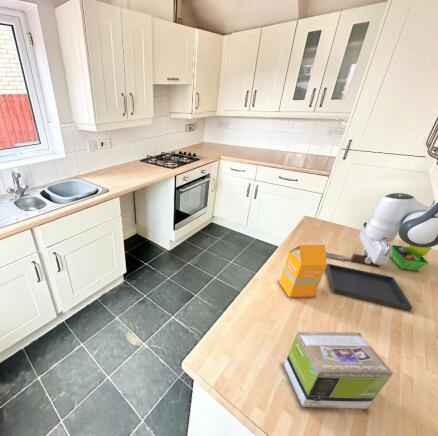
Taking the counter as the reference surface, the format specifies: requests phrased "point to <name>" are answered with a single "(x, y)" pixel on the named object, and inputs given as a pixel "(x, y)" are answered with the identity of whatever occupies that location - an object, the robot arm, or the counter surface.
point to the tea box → (335, 370)
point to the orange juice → (303, 270)
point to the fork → (354, 258)
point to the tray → (367, 286)
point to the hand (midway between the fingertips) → (365, 260)
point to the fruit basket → (409, 256)
